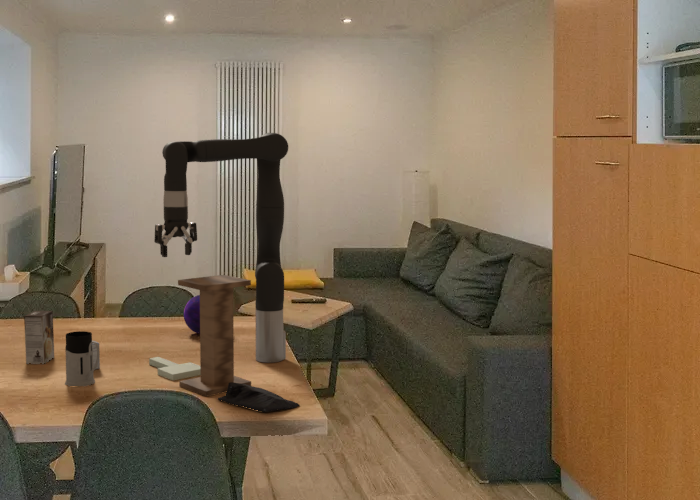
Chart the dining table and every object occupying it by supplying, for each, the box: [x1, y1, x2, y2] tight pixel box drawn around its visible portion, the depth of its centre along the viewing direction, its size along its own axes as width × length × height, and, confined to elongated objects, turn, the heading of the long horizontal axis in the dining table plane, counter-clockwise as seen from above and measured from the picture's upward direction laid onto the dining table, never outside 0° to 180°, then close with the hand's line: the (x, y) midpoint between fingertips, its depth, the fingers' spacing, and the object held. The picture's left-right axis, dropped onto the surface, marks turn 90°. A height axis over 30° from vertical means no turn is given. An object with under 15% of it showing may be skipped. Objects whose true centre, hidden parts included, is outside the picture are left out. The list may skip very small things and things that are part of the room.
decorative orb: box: [183, 294, 200, 335], centre depth 332 cm, size 15×15×15 cm
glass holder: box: [64, 330, 100, 387], centre depth 262 cm, size 9×14×15 cm, turn 51°
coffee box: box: [23, 310, 55, 365], centre depth 289 cm, size 9×6×16 cm
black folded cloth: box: [217, 382, 300, 413], centre depth 246 cm, size 15×22×5 cm
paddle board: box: [148, 356, 201, 381], centre depth 280 cm, size 12×22×2 cm, turn 43°
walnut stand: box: [177, 274, 252, 397], centre depth 260 cm, size 16×14×32 cm
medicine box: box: [92, 340, 101, 370], centre depth 279 cm, size 8×4×9 cm, turn 130°
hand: (176, 255), depth 280 cm, fingers open, 8 cm apart
